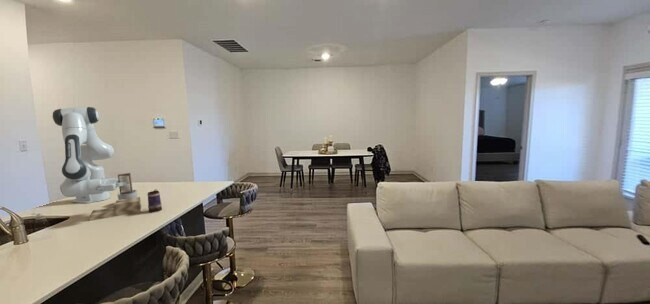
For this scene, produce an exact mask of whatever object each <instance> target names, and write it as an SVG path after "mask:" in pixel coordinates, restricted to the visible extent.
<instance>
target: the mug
mask: <svg viewBox="0 0 650 304" xmlns="http://www.w3.org/2000/svg"><path fill="white" fill-rule="evenodd" d="M147 204H148V205H147V207H148V212H149V213H158V212H160V211H162V209H163V207H162V201H161V194H160V191H159V190H158V189H154V190H151V191H149V192H147Z"/></svg>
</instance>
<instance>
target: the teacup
mask: <svg viewBox="0 0 650 304" xmlns="http://www.w3.org/2000/svg"><path fill="white" fill-rule="evenodd" d="M132 190H133V193H130V194H123V195H120V192H119V193H117V194H116V195H117V199H118V200H122V199H129V198H136V197H138V192H137V190H136V189H132Z"/></svg>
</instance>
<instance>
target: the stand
mask: <svg viewBox="0 0 650 304" xmlns="http://www.w3.org/2000/svg"><path fill="white" fill-rule="evenodd" d="M141 200H142V199H141V196H137V197H136V198H129V199H122V200H119V199H118V200H116V201H115V203H114V206H113V207H107V208H101V209H93V210H92V211H91V212H90V214H89V221H96V220H102V219H108V218H113V217H114V218H115V217H118V216H125V215H130V214H138V213H141V210H142V203H141V202H142V201H141Z"/></svg>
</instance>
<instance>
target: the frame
mask: <svg viewBox="0 0 650 304" xmlns="http://www.w3.org/2000/svg"><path fill="white" fill-rule="evenodd" d="M117 178H118V181H119V183H122V182H127V185H124V186H120V187H118V188H119V193H120V195H123V194H130V193H133V190H134V189H133V185H132V184H133V183H132V182H133V181H132V176H131V172H127V173H118V174H117Z"/></svg>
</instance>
